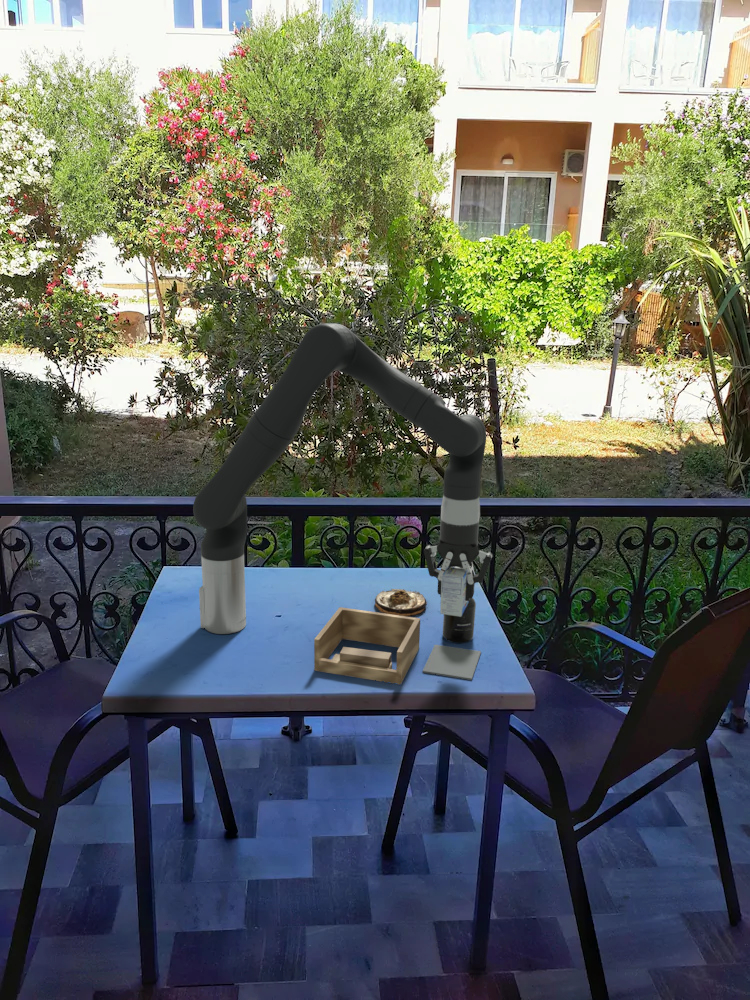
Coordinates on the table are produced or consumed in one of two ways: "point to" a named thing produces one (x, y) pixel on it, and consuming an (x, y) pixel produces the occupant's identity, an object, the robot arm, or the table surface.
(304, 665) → the table surface
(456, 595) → the medicine box
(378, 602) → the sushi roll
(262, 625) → the table surface
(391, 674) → the tan wooden open box
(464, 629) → the supplement bottle
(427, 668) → the mat
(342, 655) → the wooden block
